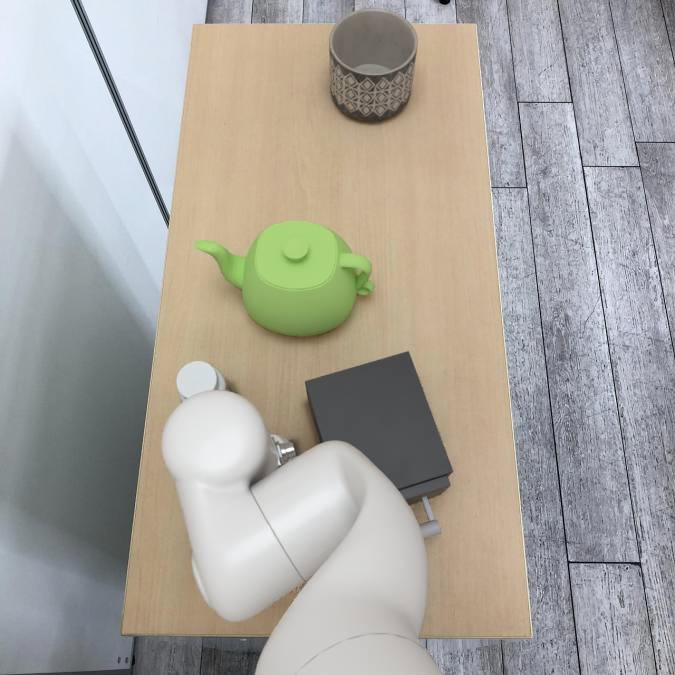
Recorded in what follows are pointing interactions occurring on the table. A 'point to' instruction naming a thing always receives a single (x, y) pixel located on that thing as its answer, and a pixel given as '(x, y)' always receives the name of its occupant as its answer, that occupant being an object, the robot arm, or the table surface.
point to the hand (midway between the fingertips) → (262, 496)
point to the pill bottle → (199, 379)
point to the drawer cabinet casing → (381, 418)
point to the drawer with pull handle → (423, 494)
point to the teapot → (296, 277)
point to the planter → (372, 63)
